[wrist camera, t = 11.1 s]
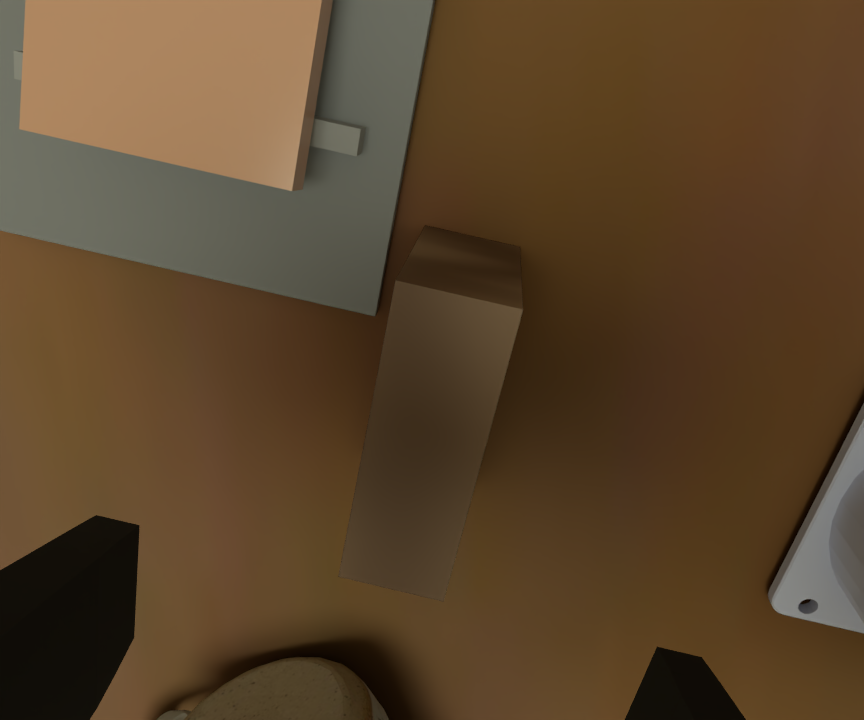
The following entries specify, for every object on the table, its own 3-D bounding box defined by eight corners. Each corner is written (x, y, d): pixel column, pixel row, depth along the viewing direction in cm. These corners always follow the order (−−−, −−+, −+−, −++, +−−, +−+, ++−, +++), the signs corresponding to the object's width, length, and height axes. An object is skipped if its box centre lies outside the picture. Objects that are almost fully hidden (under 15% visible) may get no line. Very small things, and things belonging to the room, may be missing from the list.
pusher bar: (519, 246, 18) (522, 309, 13) (459, 480, 20) (443, 601, 16) (425, 224, 18) (395, 280, 13) (377, 461, 20) (338, 576, 16)
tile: (305, 189, 16) (357, -132, 14) (291, 191, 15) (346, -157, 13) (52, 131, 16) (72, -195, 14) (19, 129, 15) (36, -226, 13)
